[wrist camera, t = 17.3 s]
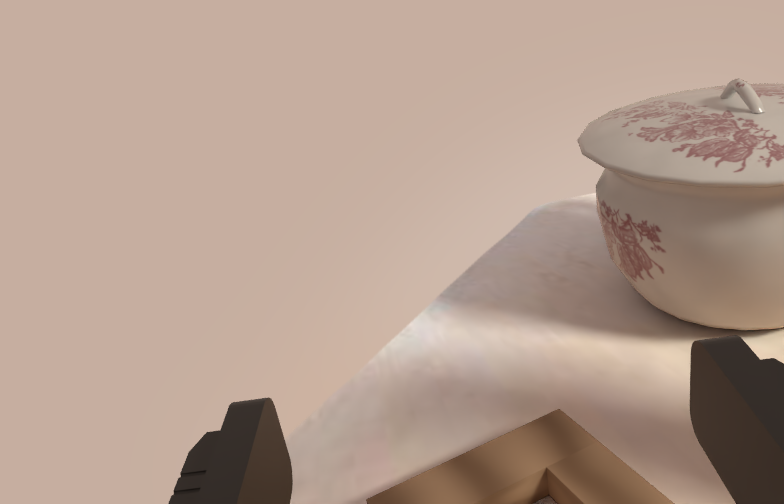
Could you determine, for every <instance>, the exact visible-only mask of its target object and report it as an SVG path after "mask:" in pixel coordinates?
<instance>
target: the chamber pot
mask: <svg viewBox="0 0 784 504" xmlns="http://www.w3.org/2000/svg"><path fill="white" fill-rule="evenodd" d="M578 143H579V146H580V149H581V152H582V154H583V155H585V156H586V157H588V158H589V159H591V160H593V161H594V162H596V163H598V164H599V165H601V166H602V167H604V168H605V170H604V171H603V173H602V175H601V177H600V179H599V181H598V183H597V185H596V199H597V211H598V215H599V218H600V222H601V226H602V229H603V233H604V237H605V240H606V244H607V247H608V250H609V253H610V256H611V259H612V261H613V262H614V263H615V264H616V266H617V267H618V268H619V269H620V271H621V272H622V273H623V275H624V276H625V277H626V278H627V280H628V281H629V282H630V284H631V285H632V286H633V287H634V289H635V290H636V291H637V292H638V293H640V294H641V295H642V296H643V297H644V298H645V299H646V300H647V301H649V302H650V303H651V304H652V305H654V306H655V307H656V308H658V309H659V310H662V311H664V312H666V313H668V314H670V315H672V316H674V317H676V318H679V319H681V320H684V321H688V322H692V323H696V324H700V325H704V326H708V327H714V328H724V329H735V330H760V329H777V328H782V327H784V84H748V83H747V82H746V81H744V80H741V79H735V80H732V81H731V82H730V83H729V84H728V85H727V86H717V87H711V88H702V89H694V90H687V91H681V92H676V93H672V94H667V95H662V96H658V97H653V98H649V99H647V100H643V101H640V102H637V103H634V104H631V105H628V106H625V107H622V108H619V109H616V110H613V111H610V112H608V113H607V114H605V115H603V116H601V117H600V118H598V119H596V120H594V121H592V122H591V123H589V124H588V126H587V127H586V129H585V130H584V131H583V133H582V134H581V136H580V137H579V139H578Z"/></svg>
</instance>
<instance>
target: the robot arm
mask: <svg viewBox="0 0 784 504" xmlns="http://www.w3.org/2000/svg"><path fill="white" fill-rule="evenodd" d="M690 415H691V421H692V425H693V429H694V432H695V434H696V437H697V439H698V441H699V443H700V445H701V446H702V448H703V450H704V451H705V453H706V455H707V456H708V458H709V460H710V461H711V463H712V464H713V466H714V468H715V469H716V471H717V473H718V474H719V476H720V478H721V479H722V481H723V483H724V484H725V486H726V488H727V489H728V491H729V493H730V494H731V496H732V498H733V499H734V501H735V503H736V504H784V364H783V363H782V362H780V361H778V360H776V359H774V358H771V359H763V360H760V359H759V358H758V357H757V356H756V354H755V353H754V352H753V351H752V350H751V349H750V348H749V346H748V345H747V344H746V343H745V342H744V341H743V339H742V338H741V337H739V336H737V335H734V336H727V337H719V338H712V339H705V340H697V341H694V342H693V344H692V347H691V372H690ZM291 494H292V467H291V461H290V457H289V453H288V450H287V447H286V443H285V440H284V437H283V433H282V429H281V426H280V423H279V419H278V416H277V412H276V409H275V406H274V404H273V401H272V400H271V399H270V398H262V399H255V400H248V401H240V402H233V403H231V404H230V406H229V408H228V411H227V414H226V416H225V419H224V422H223V425H222V428H221V431H213V432H207V433H206V434H205V435H204V436H203V437H202V438H201V439H200V440H199V442H198V443H197V444H196V445H195V446H194V447H193V448H192V449H191V451H190V452H189V453H188V456H187V458H186V461H185V464H184V466H183V468H182V471H181V478H179V479H178V481H177V484H176V486H175V489H174V495H172V496H171V499H170V501H169V504H290V499H291Z"/></svg>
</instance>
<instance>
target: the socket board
mask: <svg viewBox="0 0 784 504" xmlns="http://www.w3.org/2000/svg"><path fill="white" fill-rule="evenodd" d="M548 495H550V496H551V497H552V498H553V499H554V500H555V501H556V502H557V503H558V504H674V503H673V502H672V501H670V500H669V499H668V498H667V497H666V496H664V495H663V494H662V493H661V492H659V491H658V490H657V489H656V488H655V487H653V486H652V485H651V484H650V483H649V482H647V481H646V480H645V479H644V478H642V477H641V476H640V475H639V474H638V473H636V472H635V471H634V470H633V469H632V468H630V467H629V466H628V465H627V464H626V463H624V462H623V461H622V460H621V459H619V458H618V457H617V456H616V455H615V454H613V453H612V452H611V451H610V450H609V449H607V448H606V447H605V446H604V445H602V444H601V443H600V442H599V441H598V440H596V439H595V438H594V437H593V436H592V435H590V434H589V433H588V432H587V431H585V430H584V429H583V428H582V427H581V426H579V425H578V424H577V423H576V422H575V421H573V420H572V419H571V418H570V417H568V416H567V415H566V414H565V413H564V412H562V411H561V410H560V409H557V410H555V411H553V412H551V413H549V414H547V415H545V416H543V417H540V418H538V419H536V420H534V421H532V422H530V423H528V424H526V425H523V426H521V427H519V428H517V429H515V430H513V431H511V432H509V433H506V434H504V435H502V436H500V437H498V438H496V439H494V440H492V441H489V442H487V443H485V444H483V445H481V446H479V447H477V448H475V449H472V450H470V451H468V452H466V453H464V454H462V455H460V456H458V457H455V458H453V459H451V460H449V461H447V462H445V463H443V464H441V465H439V466H436V467H434V468H432V469H430V470H428V471H426V472H424V473H422V474H419V475H417V476H415V477H413V478H411V479H409V480H407V481H405V482H402V483H400V484H398V485H396V486H394V487H392V488H390V489H388V490H385V491H383V492H381V493H379V494H377V495H375V496H373V497H371V498H368V499H366V501H367V504H532V503H534V502H536V501H538V500H540V499H542V498H544V497H546V496H548Z"/></svg>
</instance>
